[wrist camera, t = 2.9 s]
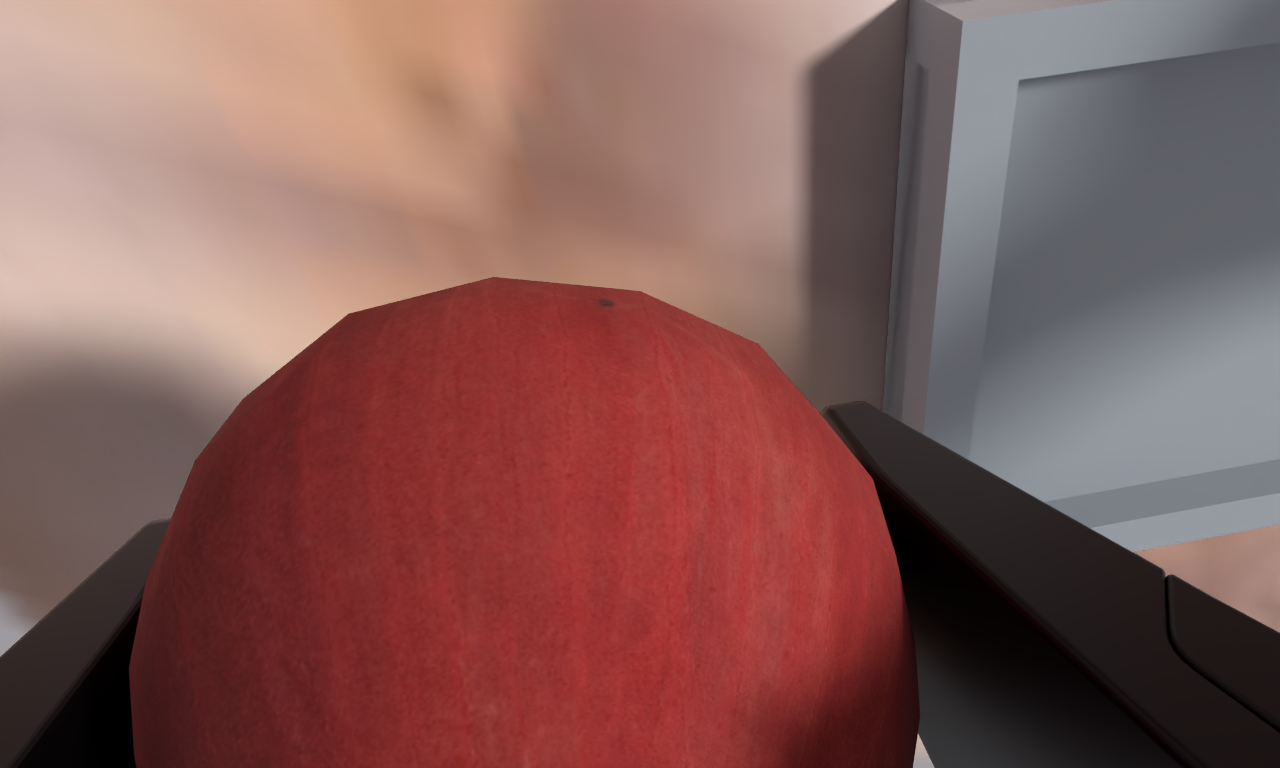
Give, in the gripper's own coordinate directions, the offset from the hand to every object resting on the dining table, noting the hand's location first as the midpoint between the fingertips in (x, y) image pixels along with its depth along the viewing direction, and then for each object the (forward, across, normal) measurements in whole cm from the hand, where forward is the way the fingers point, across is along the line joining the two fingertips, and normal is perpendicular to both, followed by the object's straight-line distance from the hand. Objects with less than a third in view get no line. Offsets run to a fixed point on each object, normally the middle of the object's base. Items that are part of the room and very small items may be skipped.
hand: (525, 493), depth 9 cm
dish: (+8, -13, +4) cm, 16 cm away
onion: (+2, 0, 0) cm, 2 cm away
